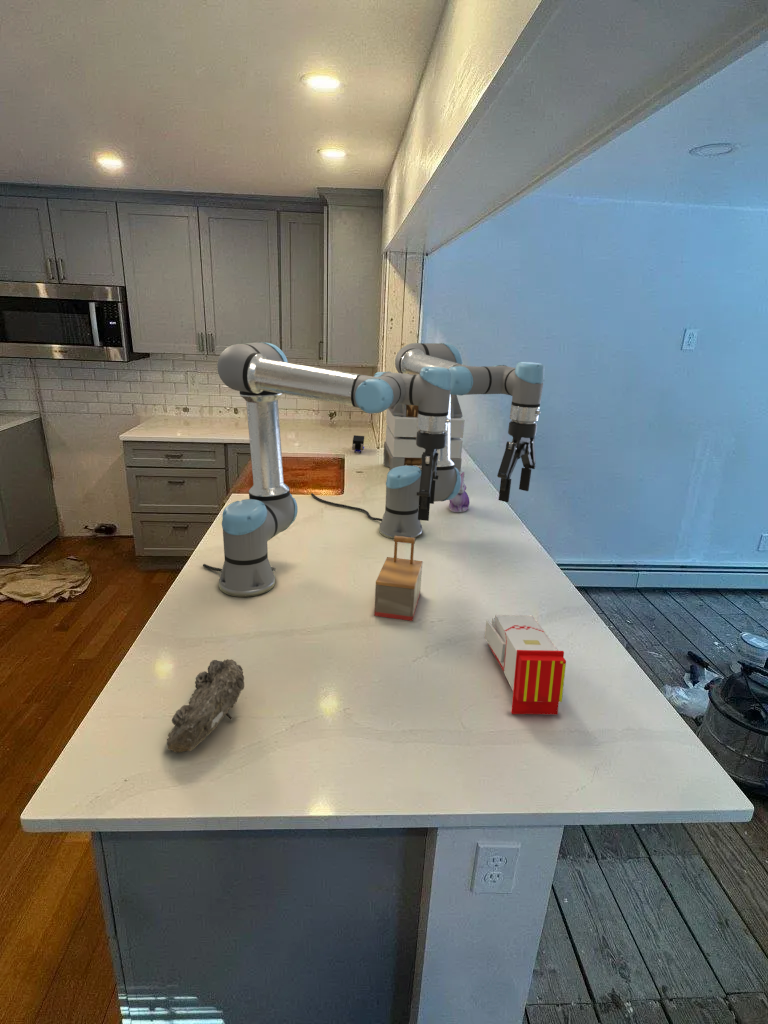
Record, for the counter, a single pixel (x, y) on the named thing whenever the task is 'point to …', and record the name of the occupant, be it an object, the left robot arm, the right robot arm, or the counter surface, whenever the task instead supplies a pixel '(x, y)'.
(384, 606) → the chest
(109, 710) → the counter surface
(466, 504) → the figurine
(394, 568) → the lid
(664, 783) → the counter surface
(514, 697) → the toy
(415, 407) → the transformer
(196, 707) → the fossil
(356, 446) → the figurine character
